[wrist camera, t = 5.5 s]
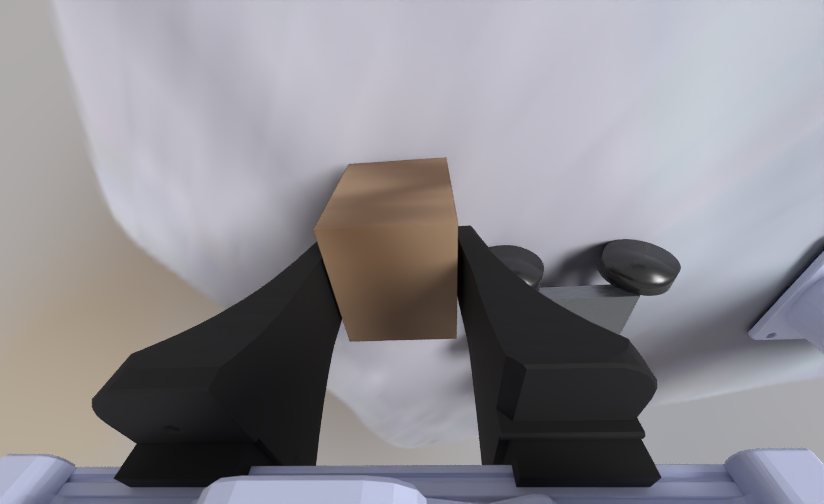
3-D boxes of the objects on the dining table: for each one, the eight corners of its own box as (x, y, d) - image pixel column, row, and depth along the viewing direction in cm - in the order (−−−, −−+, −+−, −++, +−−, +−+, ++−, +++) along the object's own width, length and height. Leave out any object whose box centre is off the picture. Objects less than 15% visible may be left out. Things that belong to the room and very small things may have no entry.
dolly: (653, 237, 15) (697, 277, 13) (605, 337, 20) (630, 379, 18) (474, 246, 16) (484, 286, 13) (468, 341, 21) (475, 382, 18)
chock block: (446, 157, 12) (458, 221, 8) (447, 255, 15) (456, 338, 11) (348, 164, 12) (313, 229, 8) (368, 259, 15) (349, 341, 11)
